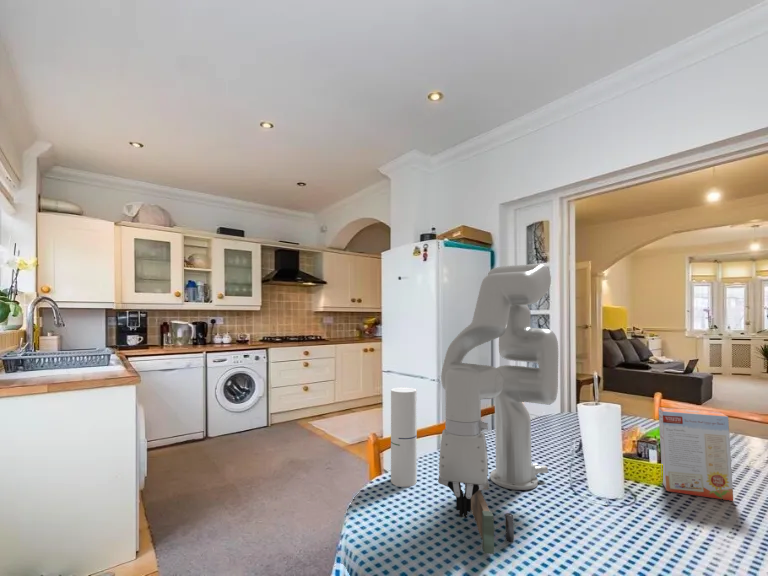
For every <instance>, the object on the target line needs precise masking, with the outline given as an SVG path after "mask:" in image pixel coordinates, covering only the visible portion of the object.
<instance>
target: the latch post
mask: <svg viewBox="0 0 768 576" xmlns="http://www.w3.org/2000/svg"><path fill="white" fill-rule="evenodd" d="M504 515H505V516H504V517H505V519H504V524H505V527H504V529H505V530H504V531H505V542H507V543H512V544H513V543H514V542H515V539H514V535H515V534H514V533H515V531H514V530H515V529H514V525H515V524H514V514H512V513H508V512H506V513H505V514H504Z"/></svg>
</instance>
